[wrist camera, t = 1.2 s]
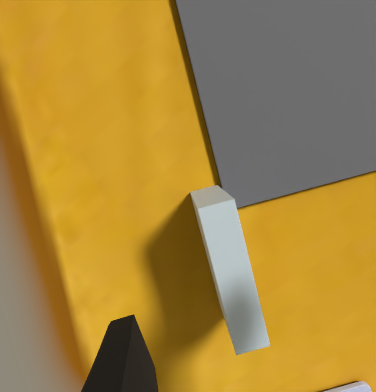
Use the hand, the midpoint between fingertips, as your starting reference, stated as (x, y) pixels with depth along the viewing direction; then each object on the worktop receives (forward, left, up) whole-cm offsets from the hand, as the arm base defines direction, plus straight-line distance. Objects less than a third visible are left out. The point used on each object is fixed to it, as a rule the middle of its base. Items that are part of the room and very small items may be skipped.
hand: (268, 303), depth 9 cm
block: (-2, 0, -10) cm, 10 cm away
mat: (+7, -7, -10) cm, 14 cm away
